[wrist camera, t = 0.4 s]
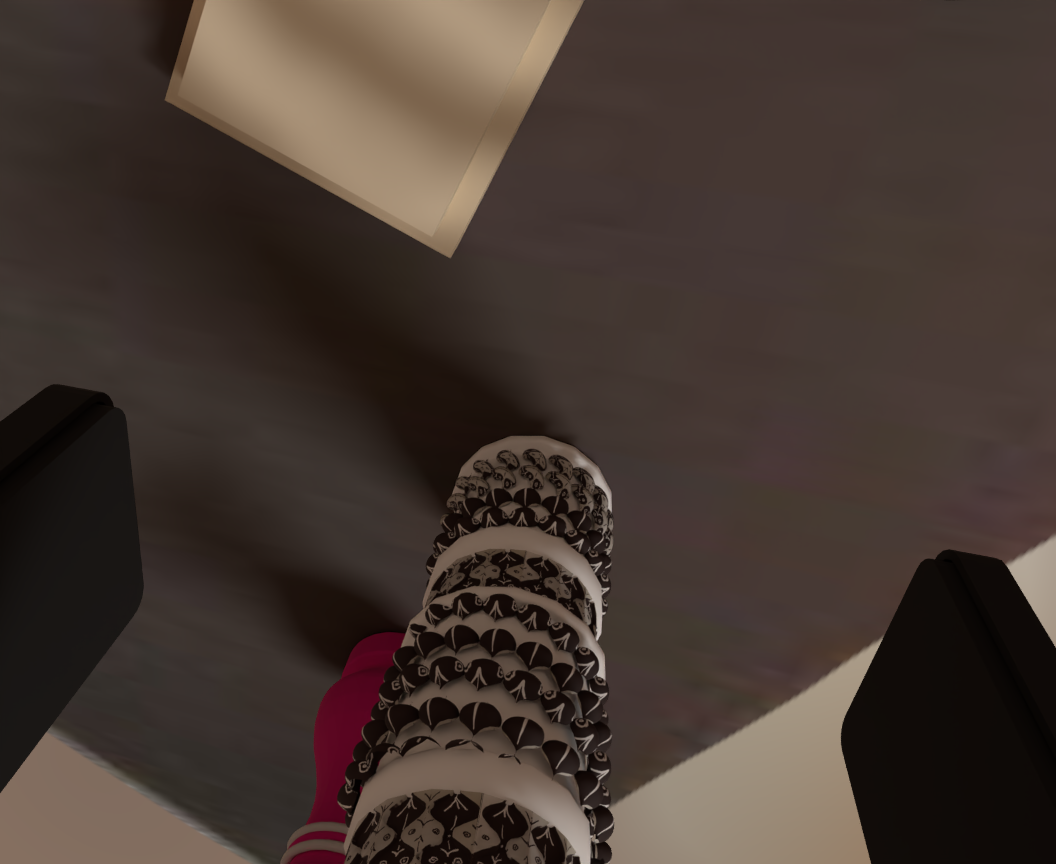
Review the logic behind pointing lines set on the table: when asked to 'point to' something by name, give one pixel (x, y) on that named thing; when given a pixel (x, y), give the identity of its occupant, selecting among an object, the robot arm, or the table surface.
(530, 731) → the decorative candle
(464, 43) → the plinth
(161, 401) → the table surface
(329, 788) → the pepper mill
